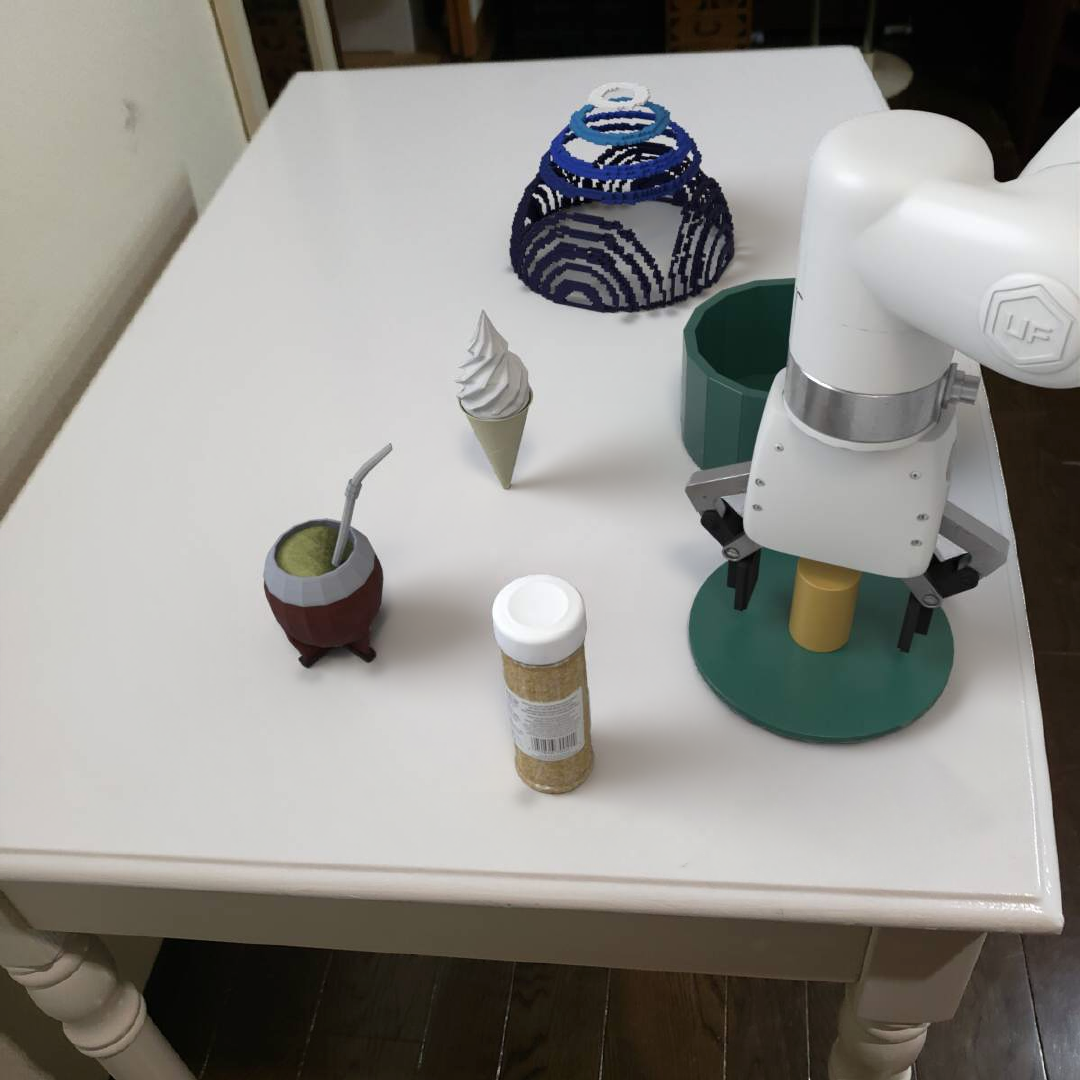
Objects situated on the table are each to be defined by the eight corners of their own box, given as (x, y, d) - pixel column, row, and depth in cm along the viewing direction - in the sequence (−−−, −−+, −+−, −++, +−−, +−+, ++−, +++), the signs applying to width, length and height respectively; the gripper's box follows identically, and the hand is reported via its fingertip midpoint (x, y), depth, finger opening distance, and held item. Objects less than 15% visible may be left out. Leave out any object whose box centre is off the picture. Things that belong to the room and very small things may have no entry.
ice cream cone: (461, 476, 81) (433, 299, 71) (526, 456, 82) (508, 278, 72) (484, 519, 78) (459, 340, 67) (552, 497, 79) (537, 318, 68)
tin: (899, 392, 85) (919, 296, 79) (861, 518, 76) (880, 420, 70) (713, 358, 89) (718, 265, 83) (655, 473, 80) (656, 377, 74)
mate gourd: (263, 642, 71) (196, 465, 61) (355, 572, 75) (308, 393, 64) (339, 702, 67) (282, 523, 57) (432, 624, 71) (395, 444, 61)
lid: (967, 584, 71) (990, 507, 66) (927, 783, 61) (951, 709, 56) (727, 529, 76) (733, 454, 71) (654, 705, 66) (655, 630, 61)
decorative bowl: (566, 183, 112) (558, 35, 102) (760, 214, 105) (772, 60, 95) (474, 286, 99) (455, 129, 89) (687, 329, 92) (692, 165, 82)
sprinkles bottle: (599, 734, 64) (592, 574, 55) (587, 802, 61) (577, 645, 52) (522, 725, 65) (501, 566, 56) (506, 792, 62) (481, 635, 53)
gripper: (1061, 367, 54) (985, 605, 66) (712, 309, 59) (701, 538, 71) (1047, 464, 49) (968, 701, 61) (669, 392, 54) (665, 622, 67)
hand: (824, 613), depth 66 cm, fingers open, 9 cm apart
